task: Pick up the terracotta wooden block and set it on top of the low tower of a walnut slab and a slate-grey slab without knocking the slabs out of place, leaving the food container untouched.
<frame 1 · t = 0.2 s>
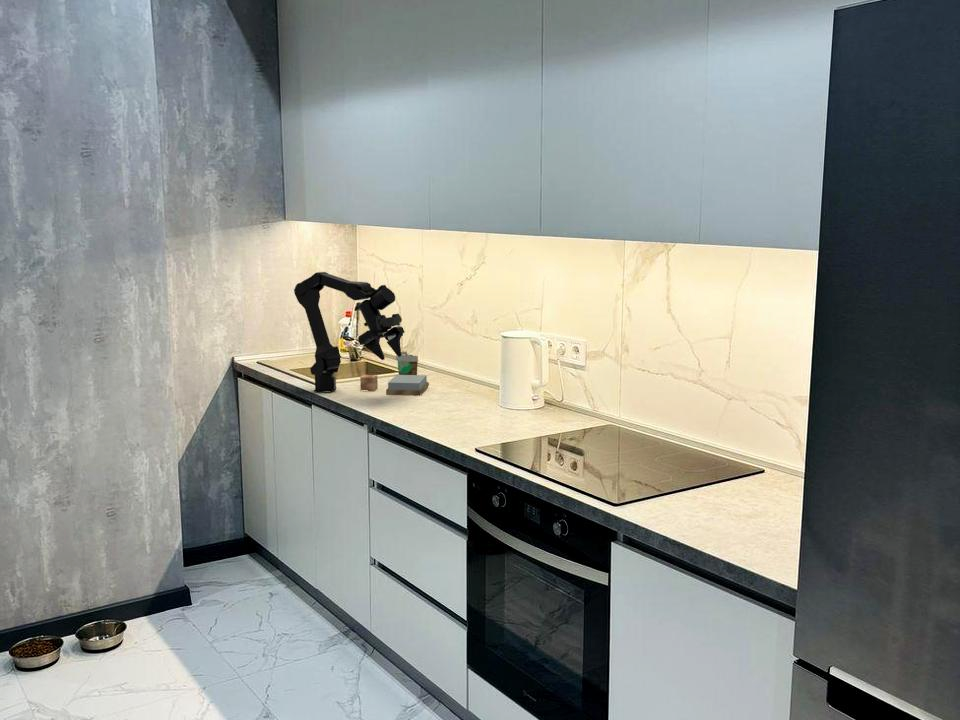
hand: (391, 358, 327), 15 cm above the worktop, tool tilted 30°, fingers open, 9 cm apart
walnut slab: (407, 392, 347), on the worktop, touching slate grey slab
terracotta block: (369, 389, 349), on the worktop
food container: (404, 381, 366), on the worktop
slate grey slab: (407, 385, 347), point 2 cm above the worktop, touching walnut slab
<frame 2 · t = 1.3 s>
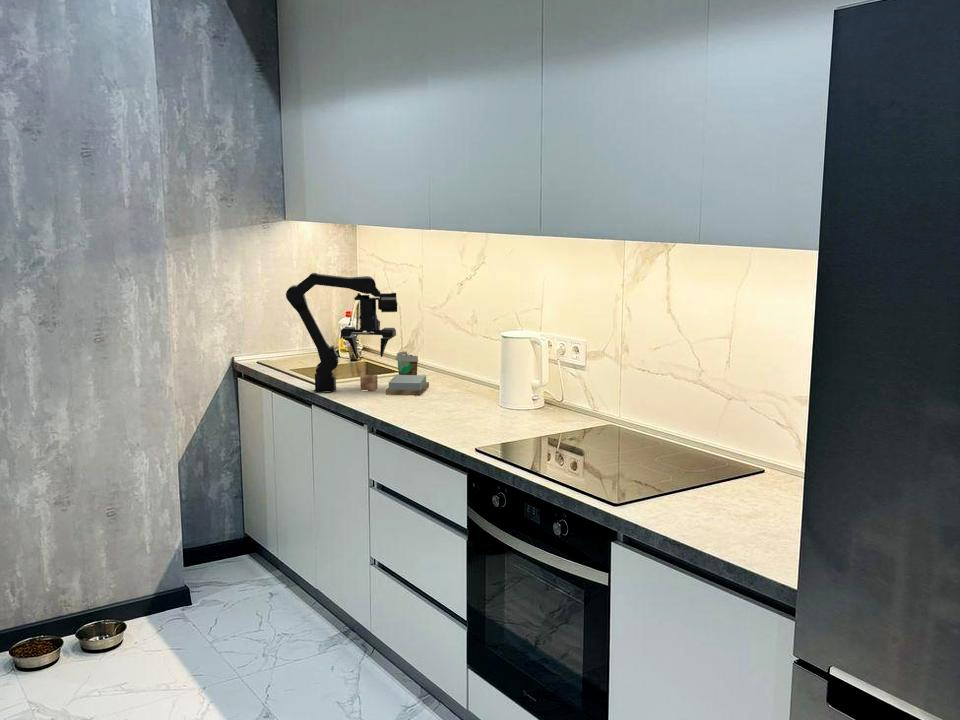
hand: (368, 356, 346), 12 cm above the worktop, tool pointing down, fingers open, 9 cm apart
nothing on the worktop moved.
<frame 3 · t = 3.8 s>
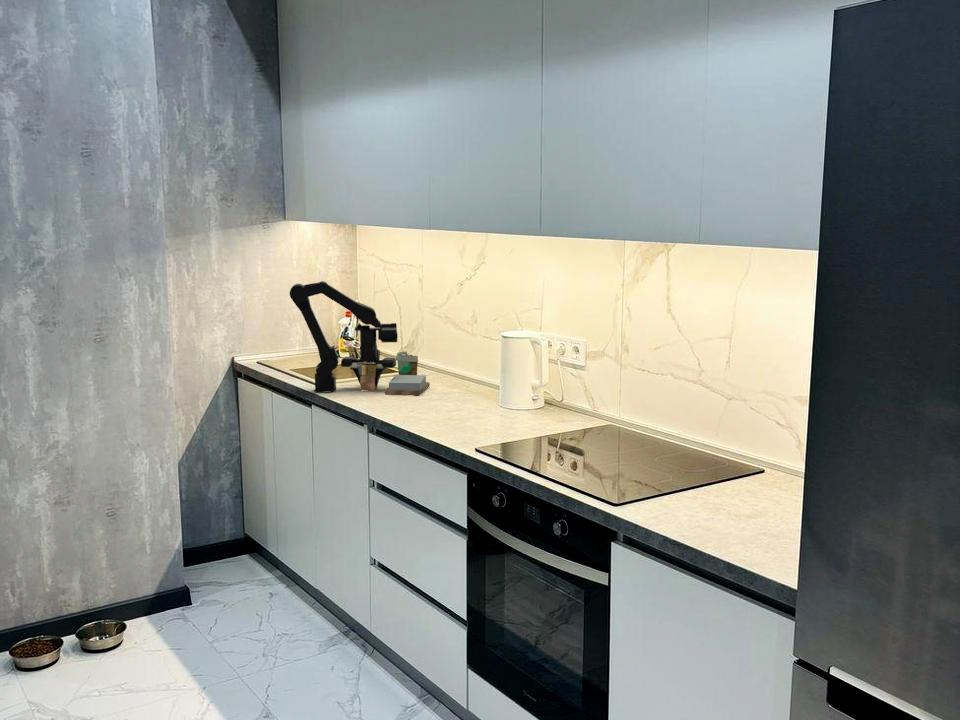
hand: (369, 386, 348), 1 cm above the worktop, tool pointing down, fingers closed on terracotta block, 5 cm apart
terracotta block: (369, 389, 349), on the worktop, touching gripper
everything else where it was.
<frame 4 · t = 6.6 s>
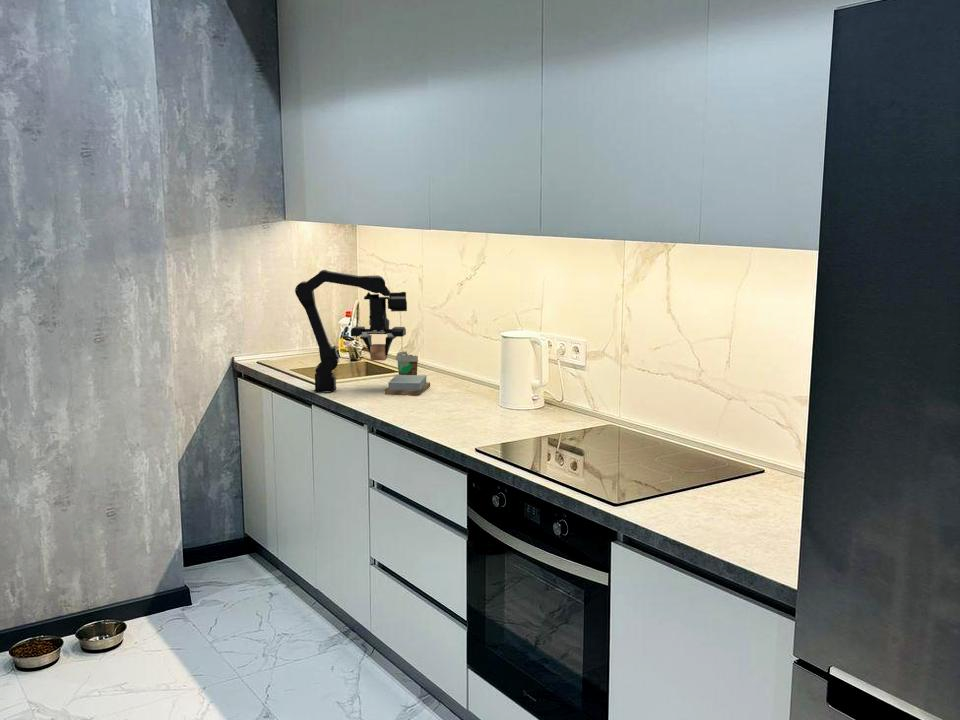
hand: (379, 355, 346), 12 cm above the worktop, tool pointing down, fingers closed on terracotta block, 5 cm apart
terracotta block: (379, 359, 346), point 11 cm above the worktop, touching gripper
everything else where it was.
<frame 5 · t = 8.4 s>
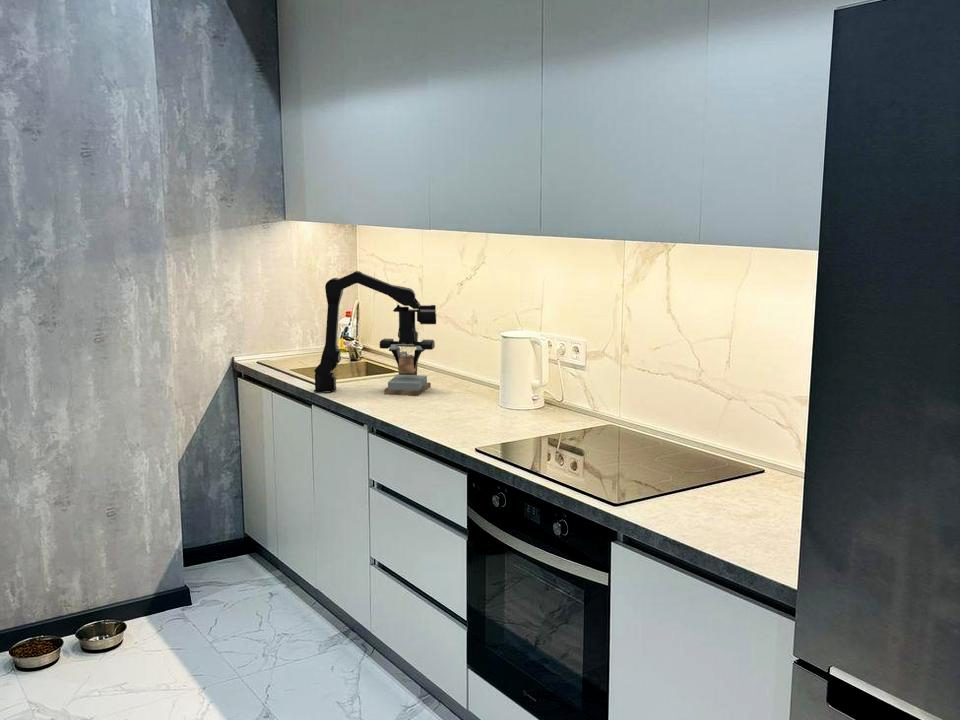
hand: (407, 368, 345), 8 cm above the worktop, tool pointing down, fingers closed on terracotta block, 5 cm apart
terracotta block: (407, 371, 346), point 7 cm above the worktop, touching gripper
everything else where it was.
when the fingers open (7 cm above the worktop, at t = 9.6 s): terracotta block drops 2 cm, resting on slate grey slab.
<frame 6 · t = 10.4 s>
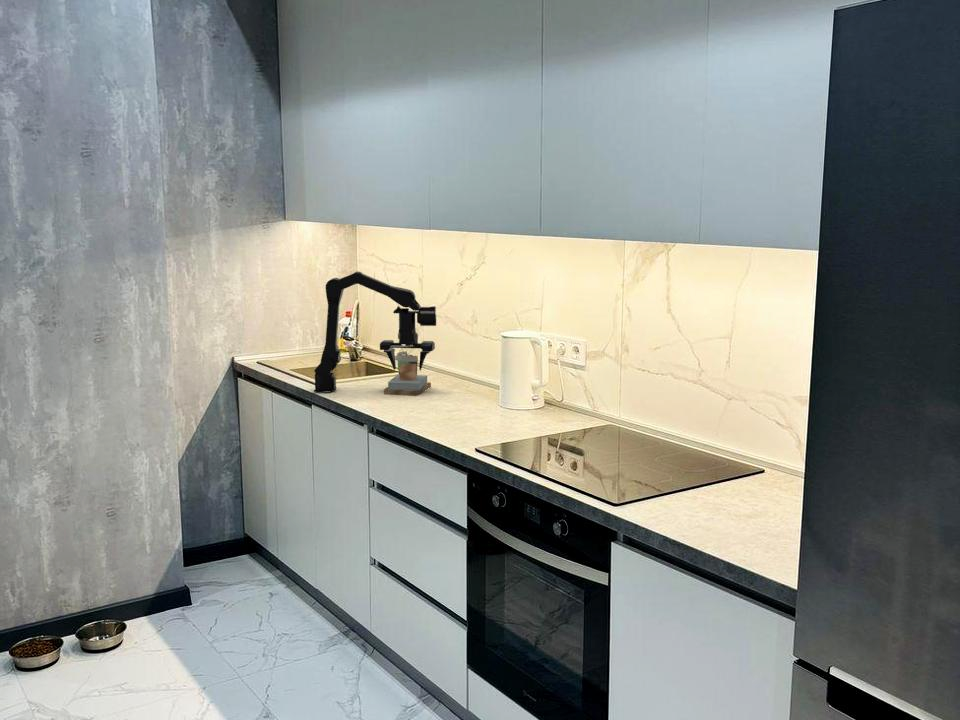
hand: (407, 369, 346), 7 cm above the worktop, tool pointing down, fingers open, 9 cm apart
terracotta block: (408, 378, 346), point 4 cm above the worktop, touching slate grey slab
slate grey slab: (408, 385, 347), point 2 cm above the worktop, touching terracotta block, walnut slab
everything else where it was.
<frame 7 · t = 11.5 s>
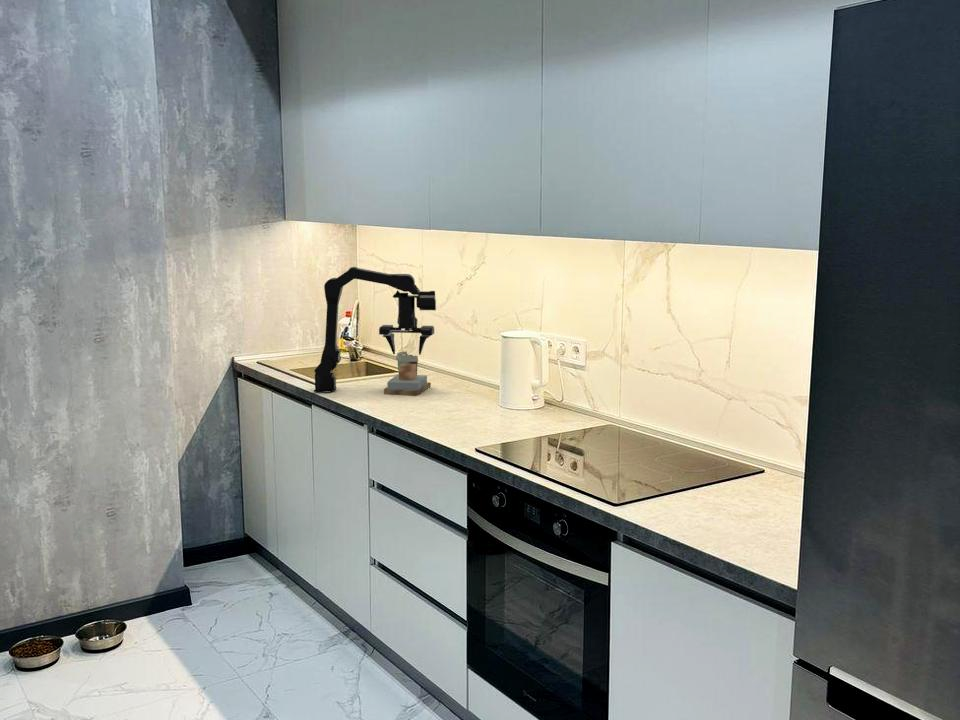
hand: (407, 354, 345), 13 cm above the worktop, tool pointing down, fingers open, 9 cm apart
nothing on the worktop moved.
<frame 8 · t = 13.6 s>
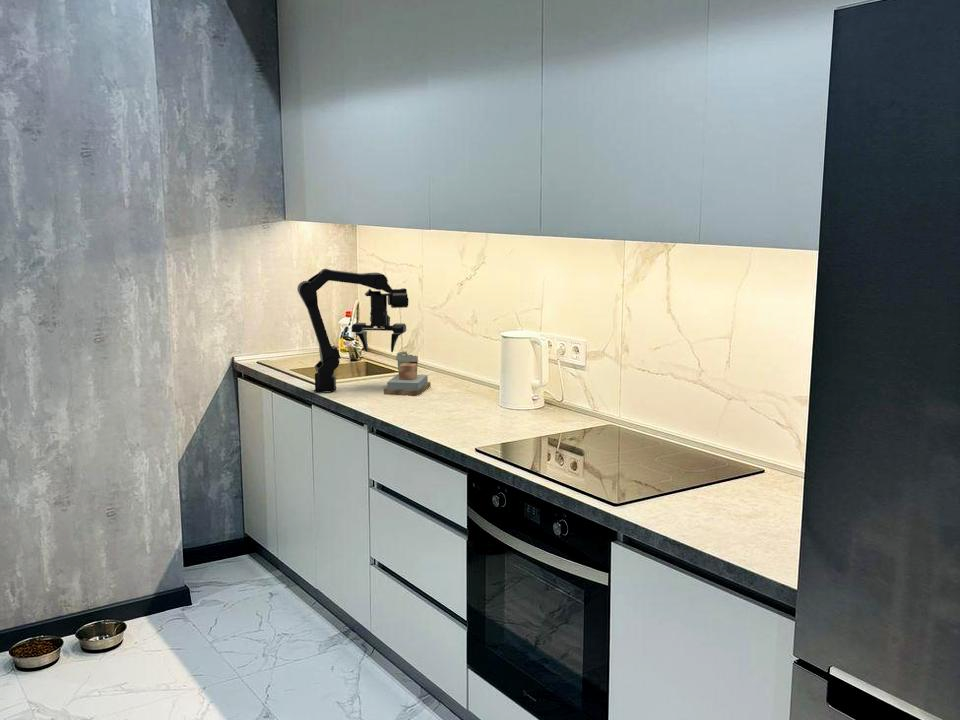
hand: (379, 351, 350), 13 cm above the worktop, tool pointing down, fingers open, 9 cm apart
walnut slab: (407, 392, 347), on the worktop
slate grey slab: (407, 385, 347), point 2 cm above the worktop, touching terracotta block
everything else where it was.
at the end: terracotta block 0.2 cm off-centre on the slate grey slab, point 2.5 cm above the slate grey slab's base; slate grey slab moved 0.7 cm from its start; terracotta block tilted 1° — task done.
